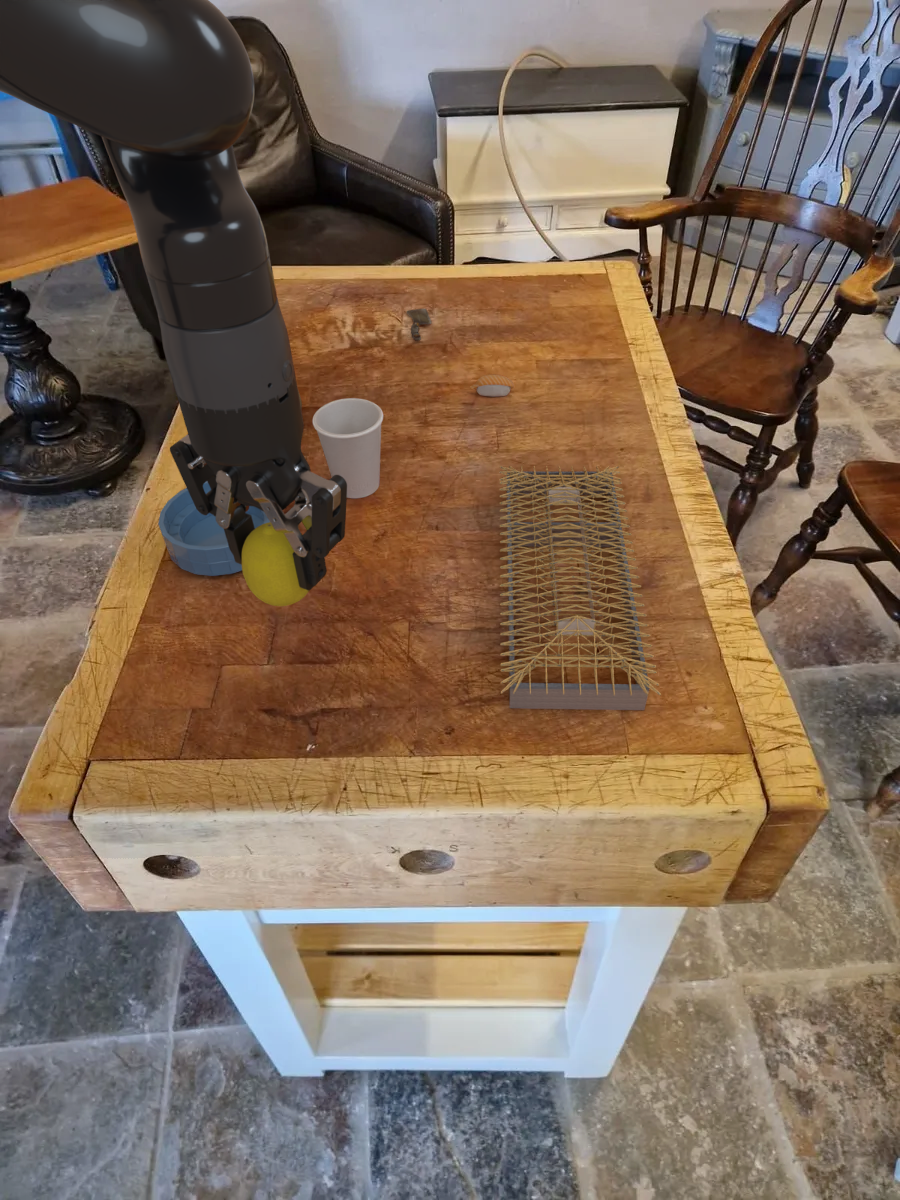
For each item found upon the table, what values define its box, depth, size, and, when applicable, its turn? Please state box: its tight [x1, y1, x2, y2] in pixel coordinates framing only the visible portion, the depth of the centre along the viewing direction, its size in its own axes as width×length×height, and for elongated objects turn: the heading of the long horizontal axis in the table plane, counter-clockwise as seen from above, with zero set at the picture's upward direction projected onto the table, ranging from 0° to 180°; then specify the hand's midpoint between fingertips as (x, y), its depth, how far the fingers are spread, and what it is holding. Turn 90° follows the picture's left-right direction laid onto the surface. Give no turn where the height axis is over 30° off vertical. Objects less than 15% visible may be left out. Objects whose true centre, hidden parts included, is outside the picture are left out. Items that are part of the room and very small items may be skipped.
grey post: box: [406, 308, 433, 342], centre depth 131 cm, size 12×1×5 cm
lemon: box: [241, 522, 310, 607], centre depth 62 cm, size 6×6×8 cm
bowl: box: [157, 481, 270, 577], centre depth 92 cm, size 13×13×4 cm
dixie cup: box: [312, 397, 384, 499], centre depth 98 cm, size 8×8×10 cm
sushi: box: [469, 373, 515, 397], centre depth 115 cm, size 3×6×3 cm, turn 88°
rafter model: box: [499, 465, 662, 711], centre depth 85 cm, size 35×14×6 cm, turn 178°
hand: (279, 569), depth 62 cm, fingers closed on lemon, 5 cm apart
